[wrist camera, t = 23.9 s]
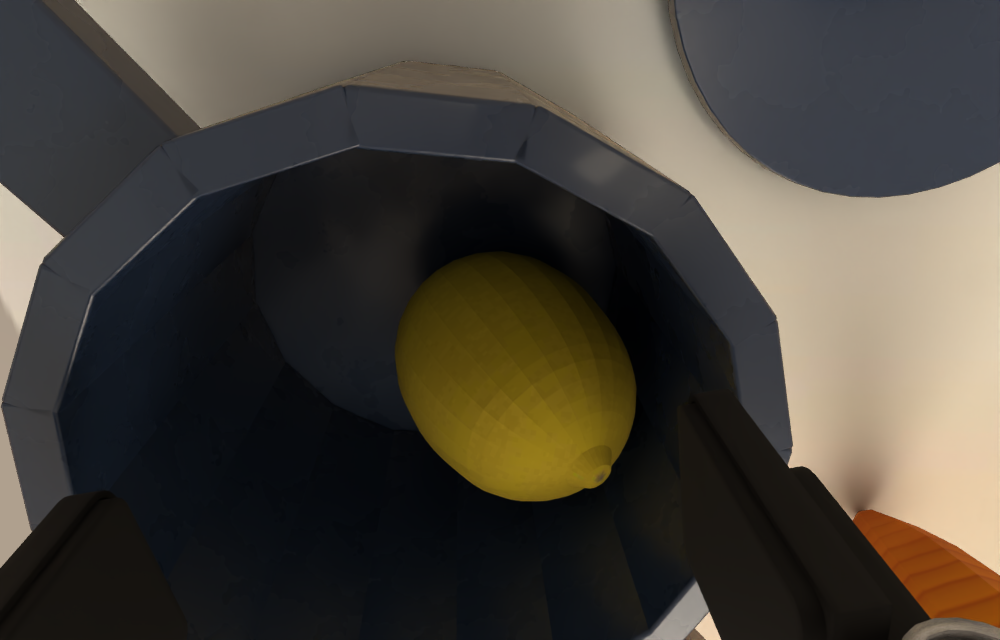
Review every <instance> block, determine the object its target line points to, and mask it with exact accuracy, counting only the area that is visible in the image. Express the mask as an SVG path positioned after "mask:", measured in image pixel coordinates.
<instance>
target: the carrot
mask: <svg viewBox="0 0 1000 640" xmlns="http://www.w3.org/2000/svg"><path fill="white" fill-rule="evenodd" d="M853 522H854V524H855V525H856V526H857V527H858V528H859V530H860V531H861V532H862V533H863V535H864V536H865V537H866V538H867V540H868V541H869V542H870V543H871V545H872V546H873V547H874V548H875V550H876V551H877V552H878V553H879V555H880V556H881V557H882V558H883V560H884V561H885V562H886V563H887V565H888V566H889V567H890V568H891V570H892V571H893V572H894V573H895V575H896V576H897V577H898V578H899V580H900V581H901V582H902V583H903V584H904V586H905V587H906V588H907V589H908V591H909V592H910V593H911V594H912V596H913V597H914V598H915V599H916V601H917V602H918V603H919V604H920V606H921V607H922V608H923V609H924V611H925V612H926V613H927V614H928V616H929V617H930V618H931V619H933V618H956V617H958V618H963V619H969V620H974V621H979V622H984V623H987V624H989V625H992V626H995V627H997V628H1000V575H998V574H997V573H995V572H994V571H992V570H991V569H989V568H988V567H986V566H985V565H983V564H982V563H981V562H979V561H978V560H976V559H975V558H973V557H972V556H970V555H969V554H967V553H966V552H964V551H963V550H961V549H960V548H958V547H957V546H955V545H953V544H951V543H949V542H947V541H945V540H943V539H941V538H939V537H937V536H935V535H933V534H931V533H929V532H927V531H925V530H923V529H921V528H919V527H917V526H914V525H911V524H909V523H906V522H903V521H901V520H898V519H895V518H893V517H890V516H887V515H885V514H882V513H879V512H876V511H874V510H863V511H859V512H858V513H857V514H856V516H855V518H854V520H853Z"/></svg>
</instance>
